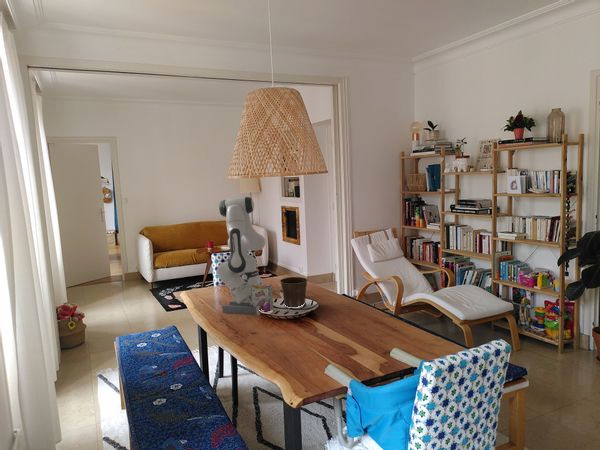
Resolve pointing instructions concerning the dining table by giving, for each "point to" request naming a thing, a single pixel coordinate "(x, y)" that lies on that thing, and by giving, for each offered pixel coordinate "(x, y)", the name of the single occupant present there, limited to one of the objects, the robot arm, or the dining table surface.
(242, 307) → the chute
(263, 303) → the candy bar box
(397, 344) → the dining table surface
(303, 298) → the plant pot
